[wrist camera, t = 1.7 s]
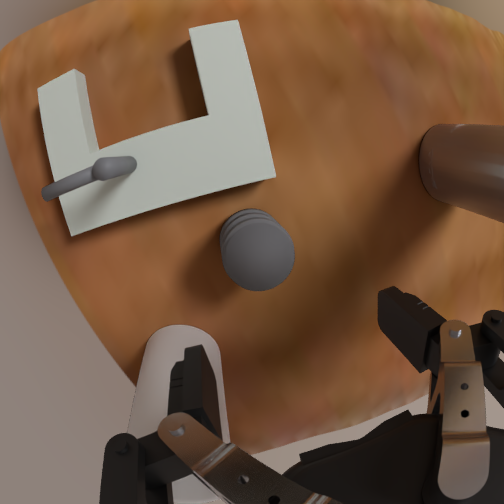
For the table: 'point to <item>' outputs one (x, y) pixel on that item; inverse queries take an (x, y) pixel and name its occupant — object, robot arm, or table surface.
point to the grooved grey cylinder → (256, 250)
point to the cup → (157, 392)
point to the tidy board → (158, 141)
